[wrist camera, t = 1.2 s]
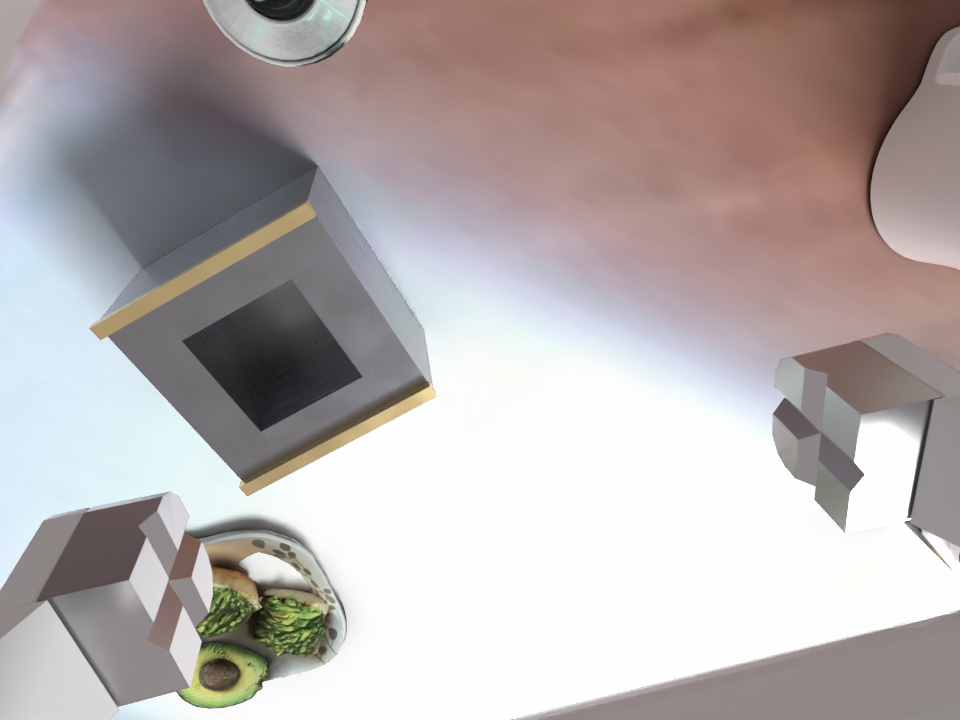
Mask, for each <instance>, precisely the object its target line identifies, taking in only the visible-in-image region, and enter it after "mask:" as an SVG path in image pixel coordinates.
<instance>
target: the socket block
mask: <svg viewBox="0 0 960 720" xmlns="http://www.w3.org/2000/svg"><path fill="white" fill-rule="evenodd" d="M89 329H90V330H91V331H92V332H93V333H94V334H95V335H96V336H97V337H98V338H99V339H100V340H102V339H103V338H105V337H107V336H108V337H109V338H110V339H111V340H112V341H113V342H114V344H115V345H116V346H117V347H118V348H119V349H120V350H121V351H122V352H123V353H124V354H125V355H126V356H127V357H128V359H129V360H130V361H131V362H132V363H133V364H134V365H135V366H136V367H137V368H138V369H139V370H140V371H141V373H142V374H143V375H144V376H145V377H146V378H147V379H148V380H149V381H150V382H151V383H152V384H153V385H154V386H155V388H156V389H157V390H158V391H159V392H160V393H161V394H162V395H163V396H164V397H165V398H166V399H167V400H168V402H169V403H170V404H171V405H172V406H173V407H174V408H175V409H176V410H177V411H178V412H179V413H180V414H181V415H182V417H183V418H184V419H185V420H186V421H187V422H188V423H189V424H190V425H191V426H192V427H193V428H194V429H195V430H196V432H197V433H198V434H199V435H200V436H201V437H202V438H203V439H204V440H205V441H206V442H207V443H208V444H209V446H210V447H211V448H212V449H213V450H214V451H215V452H216V453H217V454H218V455H219V456H220V457H221V458H222V459H223V461H224V462H225V463H226V464H227V465H228V466H229V467H230V468H231V469H232V470H233V471H234V472H235V473H236V475H237V476H238V477H239V478H240V479H241V480H242V481H241V483H240V486H239V488H240V489H241V490H242V491H243V492H244V493H245V494H246V495H247V496H249V495H251V494H253V493H255V492H256V491H258V490H260V489H262V488H264V487H266V486H268V485H270V484H272V483H274V482H275V481H277V480H279V479H281V478H283V477H285V476H287V475H289V474H291V473H292V472H294V471H296V470H298V469H300V468H302V467H304V466H306V465H308V464H310V463H311V462H313V461H315V460H317V459H319V458H321V457H323V456H325V455H327V454H328V453H330V452H332V451H334V450H336V449H338V448H340V447H342V446H344V445H346V444H347V443H349V442H351V441H353V440H355V439H357V438H359V437H361V436H363V435H364V434H366V433H368V432H370V431H372V430H374V429H376V428H378V427H380V426H382V425H383V424H385V423H387V422H389V421H391V420H393V419H395V418H397V417H399V416H400V415H402V414H404V413H406V412H408V411H410V410H412V409H414V408H416V407H418V406H419V405H421V404H423V403H425V402H427V401H429V400H431V399H433V398H435V397H436V391H435V389H434V388H433V385H432V378H431V372H430V365H429V359H428V352H427V346H426V339H425V333H424V329H423V328H422V326H421V325H420V323H419V322H418V320H417V319H416V317H415V315H414V314H413V312H412V311H411V309H410V308H409V306H408V305H407V303H406V302H405V300H404V298H403V297H402V295H401V294H400V292H399V291H398V289H397V288H396V286H395V284H394V283H393V281H392V280H391V278H390V277H389V275H388V274H387V272H386V270H385V269H384V267H383V266H382V264H381V263H380V261H379V260H378V258H377V256H376V255H375V253H374V252H373V250H372V249H371V247H370V246H369V244H368V243H367V241H366V239H365V238H364V236H363V235H362V233H361V232H360V230H359V229H358V227H357V225H356V224H355V222H354V221H353V219H352V218H351V216H350V215H349V213H348V211H347V210H346V208H345V207H344V205H343V204H342V202H341V201H340V199H339V197H338V196H337V194H336V193H335V191H334V190H333V188H332V187H331V185H330V183H329V182H328V180H327V179H326V177H325V176H324V174H323V173H322V171H321V170H320V168H319V166H317V167H315V168H314V169H312V170H310V171H308V172H307V173H305V174H303V175H302V176H300V177H298V178H296V179H295V180H293V181H291V182H290V183H288V184H286V185H284V186H283V187H281V188H279V189H278V190H276V191H274V192H272V193H271V194H269V195H267V196H266V197H264V198H262V199H260V200H259V201H257V202H255V203H254V204H252V205H250V206H248V207H247V208H245V209H243V210H242V211H240V212H238V213H236V214H235V215H233V216H231V217H230V218H228V219H226V220H224V221H223V222H221V223H219V224H218V225H216V226H214V227H212V228H211V229H209V230H207V231H206V232H204V233H202V234H200V235H199V236H197V237H195V238H194V239H192V240H190V241H188V242H187V243H185V244H183V245H182V246H180V247H178V248H176V249H175V250H173V251H171V252H170V253H168V254H166V255H164V256H163V257H161V258H159V259H158V260H156V261H154V262H152V263H151V264H149V265H147V266H146V267H144V268H142V270H141V271H140V272H139V273H138V274H137V276H136V277H135V278H134V279H133V280H132V282H131V283H130V284H129V285H128V286H127V288H126V289H125V290H124V291H123V292H122V294H121V295H120V296H119V297H118V298H117V300H116V301H115V302H114V303H113V305H112V306H111V307H110V308H109V309H108V311H107V312H106V313H105V314H104V315H103V317H102V318H101V319H100V320H98V321H97V322H95V323H93V325H92V326H91V327H90V328H89Z"/></svg>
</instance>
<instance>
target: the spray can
mask: <svg viewBox="0 0 960 720" xmlns="http://www.w3.org/2000/svg"><path fill="white" fill-rule="evenodd" d="M367 1H368V0H203V3H204V5H205V6H206V8H207V10H208V12H209V14H210V16H211V18H212V19H213V21H214V22H215V23H216V25H217V26H218V27H219V28H220V30H221V31H222V32H223V34H224V35H225V36H226V37H228V38H229V39H230V40H231V41H232V42H233V43H234V44H235V45H236V46H237V47H239V48H240V49H242V50H244V51H245V52H247V53H248V54H250V55H251V56H253V57H256V58H258V59H261V60H263V61H265V62H268V63H271V64H276V65H281V66H286V67H289V66H306V65H310V64H315V63H318V62H320V61H322V60H324V59H326V58H329V57H331V56H332V55H333V54H334V53H336V52H337V51H338V50H340V49H341V48H342V47H343V46H344V45H345V44H346V43H347V41H348V40H349V39H350V38H351V37H352V36H353V34H354V32H355V30H356V28H357V26H358V25H359V23H360V21H361V18H362V16H363V13H364V11H365V8H366V4H367Z"/></svg>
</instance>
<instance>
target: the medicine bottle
mask: <svg viewBox="0 0 960 720" xmlns="http://www.w3.org/2000/svg"><path fill="white" fill-rule="evenodd" d="M903 522H904V523H905V524H906V525H907V526H908V527H909V528H910V529H911V530H912V531H913V532H914V533H915V534H916V535H917V536H918V537H919V538H920V539H921V540H922V541H923V542H924V543H925V544H926V545H927V546H928V547H929V548H930V549H931V550H932V551H933V552H934V553H935V554H936V555H937V556H938V557H939V558H940V559H941V560H942V561H943V562H944V563H945V564H946V565H947V566H948V567H949V568H950V569H951V570H952V571H954V572H956V573H960V547H958V546H956V545H954V544H952V543H950V542H948V541H946V540H944V539H941V538H939V537H937V536H935V535H933V534H931V533H929V532H927V531H925V530H923V529H921V528H919V527H917V526H915V525H913V524H911V523H910V520H907V521H903Z"/></svg>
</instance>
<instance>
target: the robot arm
mask: <svg viewBox="0 0 960 720" xmlns="http://www.w3.org/2000/svg"><path fill="white" fill-rule="evenodd" d="M871 210H872V215H873V219H874V222H875V225H876V228H877V230H878V232H879V234H880V235H881V237H882V238H883V240H884V241H885V242H886V243H887V244H888V246H889V247H891V248H892V249H893V250H894V251H896V252H897V253H898V254H900V255H902V256H904V257H906V258H909V259H912V260H915V261H919V262H926V263H933V264H939V265H944V266H948V267H952V268H956V269H958V270H959V271H960V26H959V27H956V28H953V29H951V30H949V31H948V32H946V33H945V34H944V35H943V36H942V37H941V38H940V40H939V41H938V43H937V44H936V46H935V48H934V50H933V52H932V55H931V57H930V59H929V62H928V65H927V67H926V70H925V73H924V76H923V79H922V82H921V84H920V86H919V88H918V89H917V91H916V92H915V94H914V95H913V97H912V98H911V100H910V101H909V102H908V104H907V105H906V106H905V108H904V109H903V110H902V112H901V113H900V115H899V116H898V117H897V119H896V120H895V122H894V124H893V125H892V127H891V129H890V130H889V132H888V134H887V136H886V138H885V140H884V142H883V144H882V147H881V149H880V152H879V154H878V157H877V160H876V163H875V167H874V171H873V176H872V182H871ZM775 387H776V389H777V390H778V391H779V392H780V393H781V394H782V395H783V396H784V399H783V400H782V402H781V403H780V405H779V406H778V407H777V409H776V410H775V412H774V413H773V437H774V441H775V445H776V448H777V452H778V454H779V456H780V458H781V460H782V462H783V463H784V465H785V467H786V468H787V469H788V470H789V471H790V472H791V474H792V475H793V476H794V477H795V478H796V479H799V480H801V481H804V482H806V483H809V484H812V485H814V486H816V491H815V500H816V502H817V503H818V504H819V505H820V506H821V507H822V508H823V509H824V510H825V511H826V512H827V514H828V515H829V516H830V517H831V518H832V519H833V520H834V521H835V522H836V523H837V524H838V526H839V527H840V528H841V529H842V530H843V531H844V532H845V533H849V532H854V531H859V530H864V529H869V528H874V527H878V526H883V525H888V524H893V523H898V522H903V521H907V520H910V523H911V524H913V525H915V526H917V527H919V528H921V529H923V530H925V531H927V532H929V533H931V534H933V535H935V536H937V537H939V538H941V539H944V540H946V541H948V542H950V543H952V544H954V545H956V546H958V547H960V372H959V371H957V370H955V369H954V368H952V367H951V366H949V365H947V364H946V363H944V362H942V361H941V360H939V359H938V358H936V357H934V356H933V355H931V354H930V353H928V352H926V351H925V350H923V349H921V348H920V347H918V346H917V345H915V344H913V343H912V342H910V341H909V340H907V339H905V338H904V337H902V336H900V335H898V334H892V333H884V334H880V335H876V336H872V337H868V338H864V339H861V340H857V341H853V342H851V343H847V344H843V345H839V346H834V347H830V348H826V349H822V350H818V351H813V352H809V353H805V354H801V355H797V356H792V357H788V358H784V359H780V362H779V364H778V366H777V369H776V375H775ZM188 518H189V514H188V512H187V510H186V508H185V507H184V505H183V503H182V501H181V499H180V497H179V496H177V495H176V494H174V493H172V492H166V493H161V494H156V495H151V496H146V497H141V498H136V499H131V500H126V501H120V502H115V503H110V504H105V505H100V506H95V507H93V508H85V509H80V510H76V511H71V512H67V513H63V514H58V515H54V516H52V517H50V518H48V519H46V520H44V521H43V522H42V524H41V526H40V527H39V529H38V531H37V532H36V534H35V535H34V537H33V539H32V540H31V542H30V543H29V545H28V547H27V548H26V550H25V552H24V553H23V555H22V556H21V558H20V560H19V561H18V563H17V565H16V566H15V568H14V569H13V571H12V573H11V574H10V576H9V577H8V579H7V581H6V582H5V584H4V586H3V587H2V589H1V590H0V720H112V719H113V718H114V716H115V715H116V714H117V713H118V711H119V708H118V707H119V706H123V705H126V704H130V703H134V702H138V701H142V700H145V699H149V698H153V697H157V696H160V695H164V694H168V693H172V692H176V691H179V690H183V689H187V688H190V686H191V682H192V678H193V674H194V670H195V666H196V662H197V658H198V654H199V650H200V647H201V643H202V641H201V639H200V637H199V635H198V633H197V631H196V630H195V627H196V626H197V625H198V624H199V623H200V622H201V621H202V620H203V619H204V618H205V617H206V616H207V614H208V613H209V610H210V606H211V601H212V597H213V577H212V569H211V565H210V561H209V557H208V555H207V552H206V550H205V548H204V546H203V544H202V541H200V540H198V539H196V538H195V537H193V536H191V535H189V534H188V533H186V532H184V531H185V528H186V525H187V521H188ZM512 720H960V610H958V611H954V612H950V613H946V614H941V615H937V616H933V617H929V618H925V619H921V620H917V621H913V622H909V623H905V624H900V625H896V626H892V627H888V628H884V629H880V630H876V631H872V632H868V633H864V634H859V635H855V636H851V637H847V638H843V639H839V640H835V641H831V642H827V643H823V644H818V645H814V646H810V647H806V648H802V649H798V650H794V651H790V652H786V653H781V654H777V655H773V656H769V657H765V658H761V659H757V660H753V661H749V662H745V663H740V664H736V665H732V666H728V667H724V668H720V669H716V670H712V671H708V672H704V673H699V674H695V675H691V676H687V677H683V678H679V679H675V680H671V681H667V682H663V683H659V684H655V685H650V686H646V687H642V688H638V689H634V690H630V691H626V692H622V693H618V694H614V695H610V696H606V697H602V698H598V699H593V700H589V701H585V702H581V703H577V704H573V705H569V706H565V707H561V708H557V709H553V710H549V711H545V712H540V713H536V714H532V715H528V716H524V717H520V718H516V719H512Z"/></svg>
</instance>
